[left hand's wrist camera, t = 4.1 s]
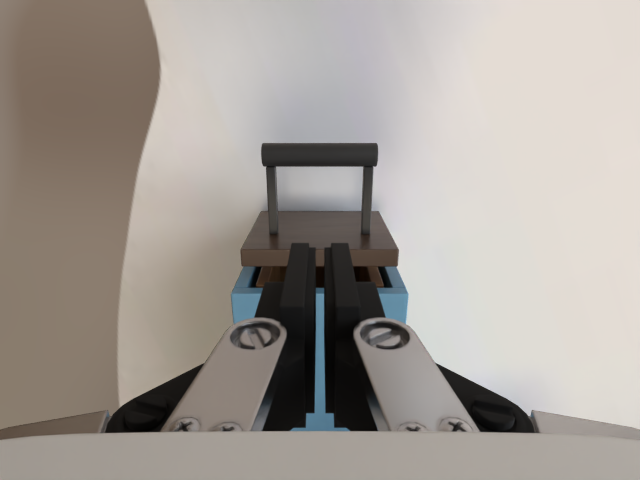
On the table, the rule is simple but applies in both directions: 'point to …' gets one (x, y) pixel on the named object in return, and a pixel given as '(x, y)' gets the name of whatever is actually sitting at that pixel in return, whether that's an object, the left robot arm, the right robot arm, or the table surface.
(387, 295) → the cabinet
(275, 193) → the drawer
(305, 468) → the left robot arm
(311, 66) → the table surface
